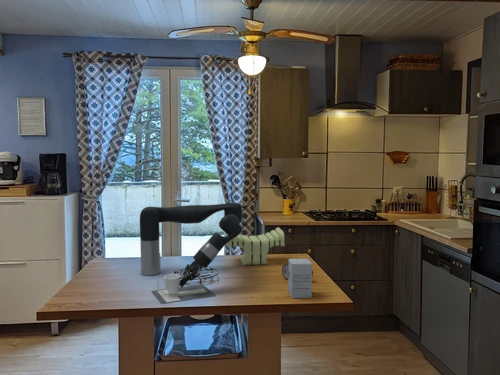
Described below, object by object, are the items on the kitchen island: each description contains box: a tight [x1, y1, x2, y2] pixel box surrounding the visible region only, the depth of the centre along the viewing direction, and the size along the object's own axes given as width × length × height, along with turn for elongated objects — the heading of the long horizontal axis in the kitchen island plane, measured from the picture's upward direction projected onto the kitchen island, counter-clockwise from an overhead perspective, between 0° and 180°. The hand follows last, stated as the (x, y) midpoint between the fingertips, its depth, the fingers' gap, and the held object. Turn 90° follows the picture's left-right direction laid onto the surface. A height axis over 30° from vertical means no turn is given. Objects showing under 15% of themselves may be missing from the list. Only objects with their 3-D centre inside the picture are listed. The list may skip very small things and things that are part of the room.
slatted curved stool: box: [225, 226, 285, 266], centre depth 253 cm, size 30×16×18 cm, turn 98°
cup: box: [156, 273, 181, 296], centre depth 199 cm, size 7×10×8 cm
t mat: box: [150, 283, 217, 305], centre depth 201 cm, size 24×18×1 cm
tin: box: [281, 261, 314, 280], centre depth 221 cm, size 15×3×8 cm, turn 65°
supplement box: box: [287, 258, 313, 299], centre depth 199 cm, size 9×9×15 cm
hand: (179, 285), depth 200 cm, fingers closed
